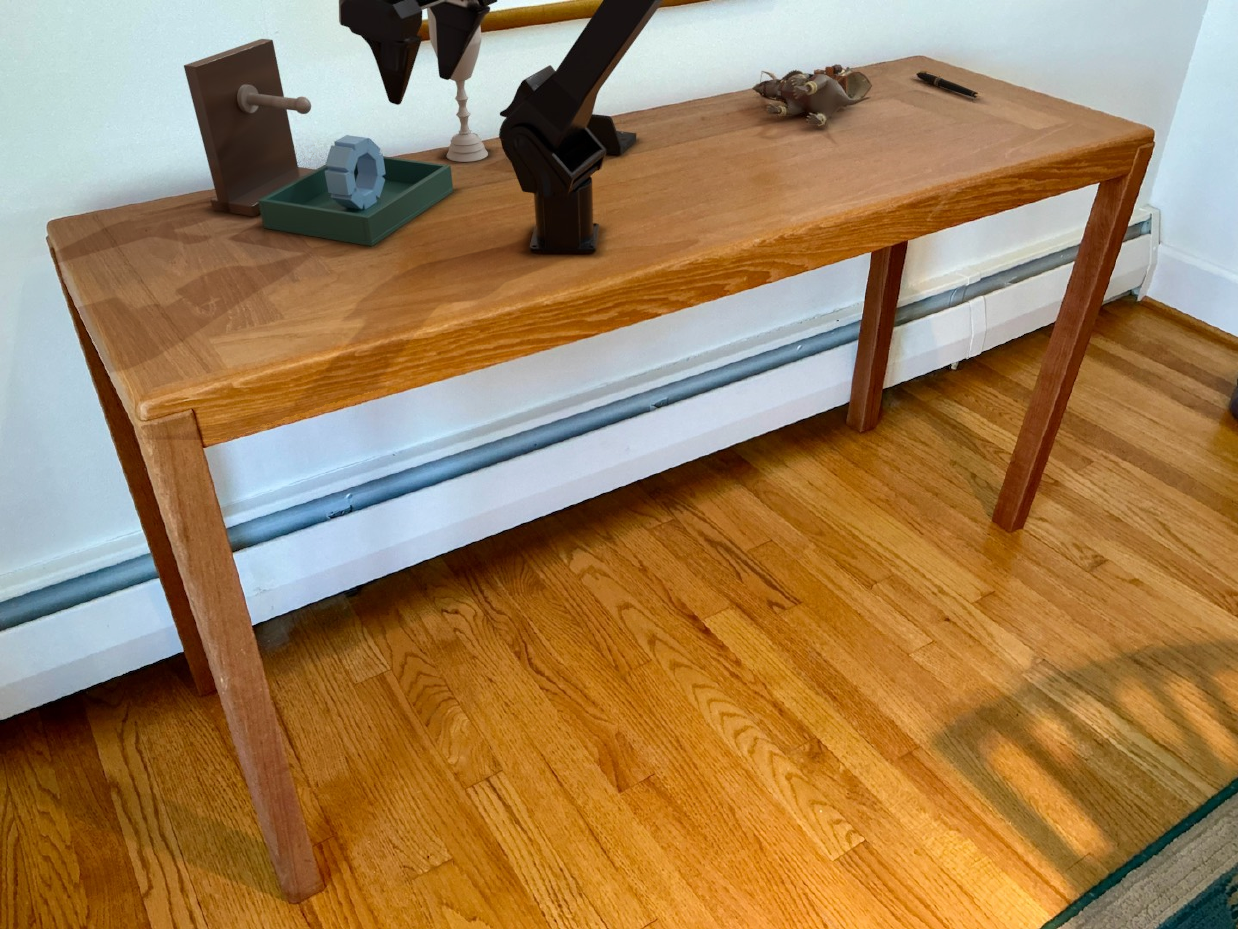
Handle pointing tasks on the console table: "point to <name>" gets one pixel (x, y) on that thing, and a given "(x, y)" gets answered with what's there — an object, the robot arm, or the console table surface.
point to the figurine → (815, 92)
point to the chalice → (462, 99)
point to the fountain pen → (945, 84)
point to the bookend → (610, 134)
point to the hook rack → (245, 125)
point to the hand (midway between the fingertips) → (420, 90)
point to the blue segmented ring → (343, 168)
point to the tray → (321, 216)
